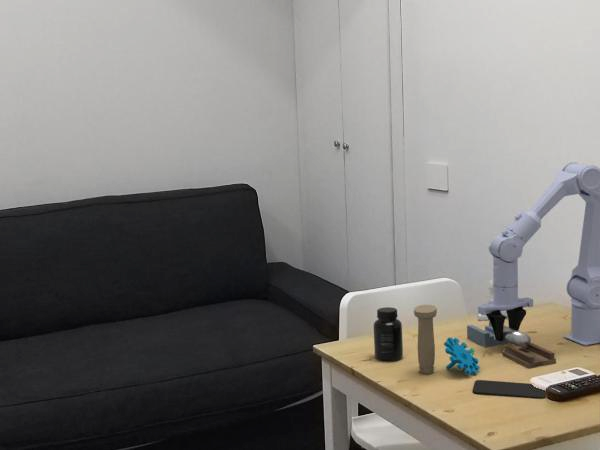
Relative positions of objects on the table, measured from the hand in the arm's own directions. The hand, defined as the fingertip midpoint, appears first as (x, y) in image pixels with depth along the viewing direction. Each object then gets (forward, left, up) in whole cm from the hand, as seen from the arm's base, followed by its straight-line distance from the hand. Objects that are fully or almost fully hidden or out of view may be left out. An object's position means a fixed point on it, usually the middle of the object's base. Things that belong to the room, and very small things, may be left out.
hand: (506, 338), depth 198 cm
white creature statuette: (-13, -24, -3) cm, 28 cm away
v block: (0, -7, -2) cm, 7 cm away
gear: (+17, +8, -3) cm, 20 cm away
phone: (+15, +23, -3) cm, 27 cm away
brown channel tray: (0, +9, -2) cm, 9 cm away
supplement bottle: (+28, -8, -3) cm, 29 cm away
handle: (+25, +5, -3) cm, 26 cm away
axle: (0, +2, +1) cm, 3 cm away
